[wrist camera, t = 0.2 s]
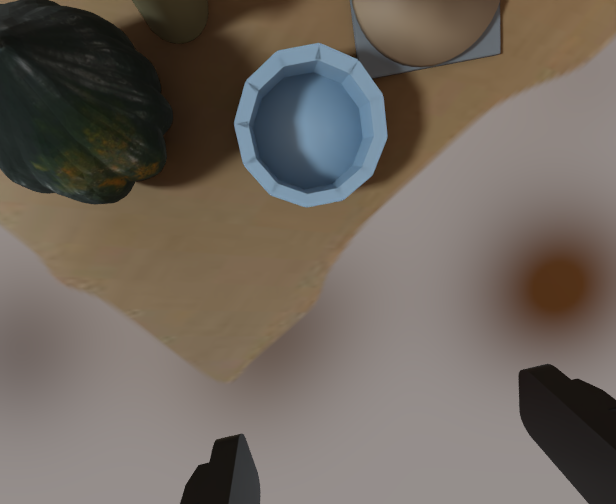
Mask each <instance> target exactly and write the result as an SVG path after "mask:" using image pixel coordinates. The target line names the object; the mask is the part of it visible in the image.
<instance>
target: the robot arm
mask: <svg viewBox="0 0 616 504" xmlns="http://www.w3.org/2000/svg"><path fill="white" fill-rule="evenodd" d="M519 407H520V416H521V419H522V422H523V424H524V426H525V428H526V430H527V432H528V433H529V435H530V436H531V437H532V438H533V440H534V441H535V442H536V443H537V444H538V445H539V447H540V448H541V449H542V450H543V451H544V452H545V454H546V455H547V456H548V457H549V458H550V459H551V460H552V462H553V463H554V464H555V465H556V466H557V467H558V469H559V470H560V471H561V472H562V473H563V474H564V475H565V476H566V478H567V479H568V480H569V481H570V482H571V484H572V485H573V486H574V487H575V488H576V489H577V491H578V492H579V493H580V494H581V495H582V496H583V497H584V499H585V500H586V501H587V502H588V503H589V504H616V400H615V399H614V398H613V397H611V396H610V395H609V394H607V393H606V392H605V391H603V390H601V389H599V388H597V387H595V386H593V385H591V384H589V383H586V382H584V381H582V380H580V379H574V380H571V379H570V378H568V377H567V376H566V375H565V374H563V373H562V372H561V371H559V370H558V369H557V368H556V367H554V366H553V365H550V364H545V365H541V366H536V367H532V368H528V369H523V370H521V371H520V372H519ZM180 504H260V483H259V477H258V472H257V469H256V467H255V464H254V461H253V458H252V455H251V452H250V450H249V447H248V444H247V441H246V438H245V436H244V435H243V434H238V435H234V436H229V437H225V438H221V439H217V440H216V441H215V443H214V445H213V449H212V454H211V458H210V462H209V463H206V464H202V465H198V467H197V468H196V470H195V471H194V473H193V474H192V476H191V478H190V479H189V481H188V482H187V484H186V486H185V489H184V493H183V496H182V499H181V503H180Z"/></svg>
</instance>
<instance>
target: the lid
mask: <svg viewBox="0 0 616 504" xmlns="http://www.w3.org/2000/svg"><path fill="white" fill-rule="evenodd" d="M499 3H500V0H352V5H353V9H354V13H355V16H356V19H357V22H358V24H359V26H360V28H361V30H362V32H363V34H364V35H365V37H366V38H367V40H368V41H369V42H370V44H371V45H372V46H373V47H374V48H375V49H376V50H377V51H378V52H379V53H381V54H382V55H383V56H385V57H386V58H388V59H389V60H391V61H393V62H395V63H398V64H401V65H404V66H409V67H421V68H422V67H431V66H435V65H438V64H441V63H444V62H446V61H449V60H450V59H452V58H454V57H456V56H457V55H459V54H461V53H462V52H464V51H465V50H466V49H468V48H469V47H470V46H471V45H472V44H473V43H474V42H475V41H476V40H477V39H478V38H479V37H480V36H481V35H482V34H483V32H484V31H485V30H486V28H487V27H488V25H489V24H490V22H491V20H492V18H493V16H494V14H495V12H496V10H497V8H498V5H499Z"/></svg>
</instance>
